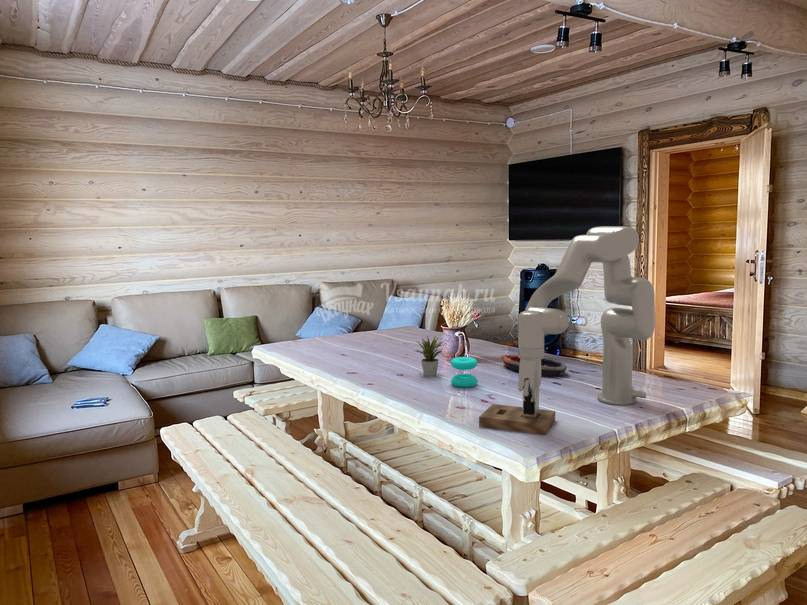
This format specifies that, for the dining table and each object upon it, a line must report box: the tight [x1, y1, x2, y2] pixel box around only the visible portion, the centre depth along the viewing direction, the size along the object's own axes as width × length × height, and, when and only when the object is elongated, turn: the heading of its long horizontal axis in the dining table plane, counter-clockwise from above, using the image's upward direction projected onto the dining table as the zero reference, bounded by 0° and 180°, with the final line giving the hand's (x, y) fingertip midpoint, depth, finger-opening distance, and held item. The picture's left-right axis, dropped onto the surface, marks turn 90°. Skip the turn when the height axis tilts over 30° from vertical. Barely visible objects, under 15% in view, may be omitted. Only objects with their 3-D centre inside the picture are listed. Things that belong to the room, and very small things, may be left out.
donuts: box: [450, 356, 478, 388], centre depth 228 cm, size 10×10×10 cm
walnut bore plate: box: [478, 403, 556, 436], centre depth 183 cm, size 20×14×3 cm
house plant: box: [413, 335, 447, 377], centre depth 242 cm, size 14×14×16 cm
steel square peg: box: [522, 387, 540, 419], centre depth 181 cm, size 4×4×11 cm
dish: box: [501, 354, 568, 377], centre depth 248 cm, size 16×31×5 cm, turn 40°
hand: (530, 411), depth 181 cm, fingers closed on steel square peg, 4 cm apart
